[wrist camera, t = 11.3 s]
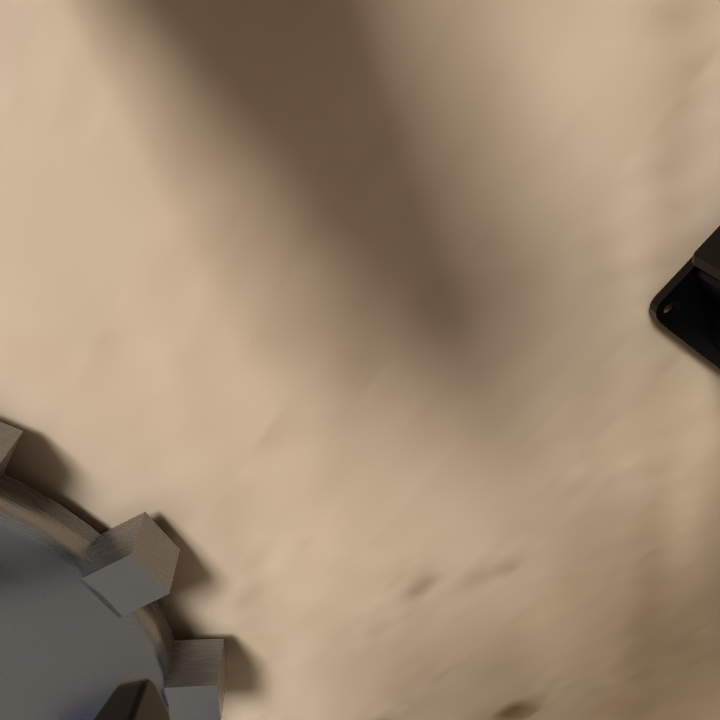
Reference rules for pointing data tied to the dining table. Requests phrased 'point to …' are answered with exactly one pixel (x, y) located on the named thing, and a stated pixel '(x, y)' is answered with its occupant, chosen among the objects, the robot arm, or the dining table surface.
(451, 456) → the dining table surface
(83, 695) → the sprocket
